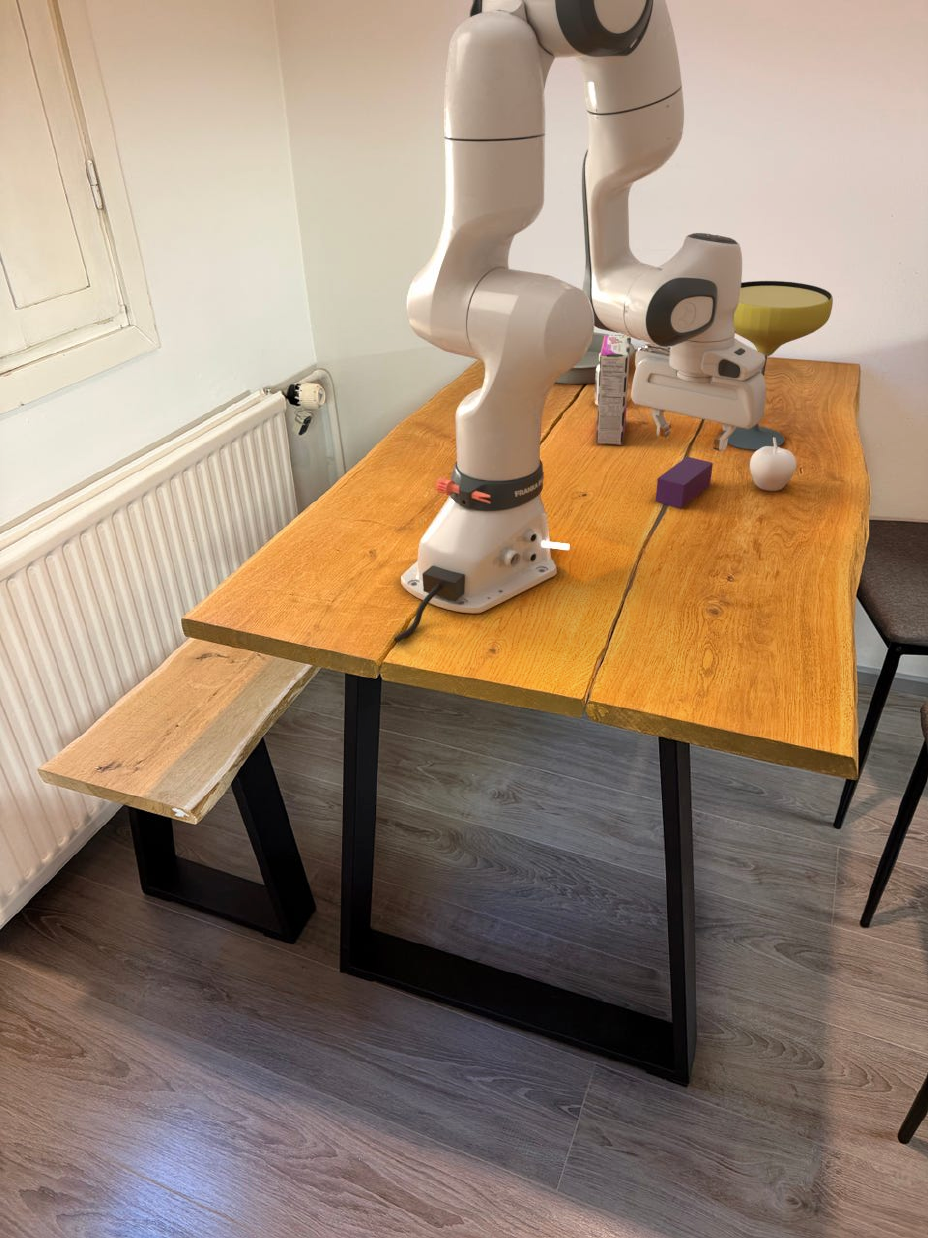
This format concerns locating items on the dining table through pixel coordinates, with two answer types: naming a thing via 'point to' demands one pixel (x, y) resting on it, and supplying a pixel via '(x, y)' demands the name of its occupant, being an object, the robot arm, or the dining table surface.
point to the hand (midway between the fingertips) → (690, 442)
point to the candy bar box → (613, 389)
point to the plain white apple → (772, 467)
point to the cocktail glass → (775, 332)
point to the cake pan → (587, 363)
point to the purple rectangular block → (683, 482)
